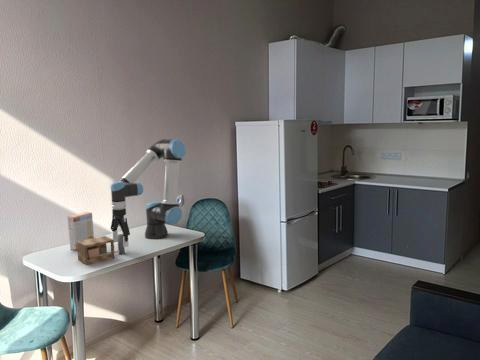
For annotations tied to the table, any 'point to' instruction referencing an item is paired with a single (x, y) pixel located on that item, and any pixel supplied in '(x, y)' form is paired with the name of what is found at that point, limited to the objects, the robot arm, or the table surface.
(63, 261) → the table surface
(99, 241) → the cubby
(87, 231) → the cracker box
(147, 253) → the table surface
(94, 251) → the u-shaped stand
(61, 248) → the table surface
